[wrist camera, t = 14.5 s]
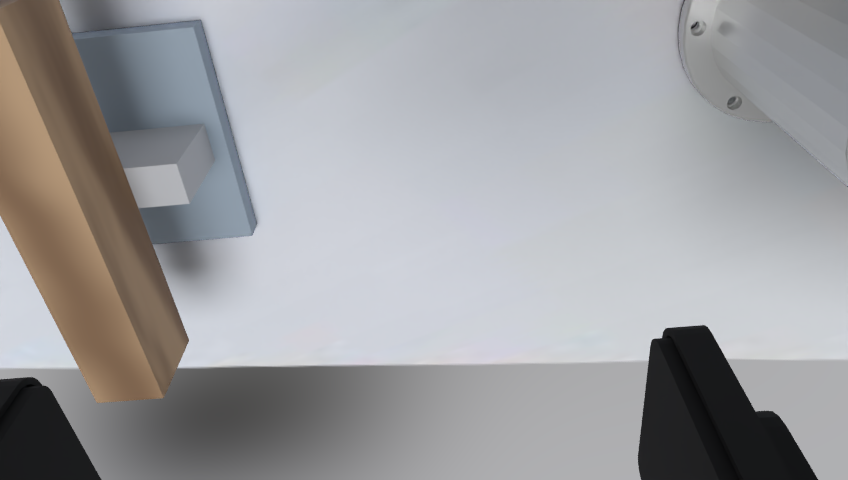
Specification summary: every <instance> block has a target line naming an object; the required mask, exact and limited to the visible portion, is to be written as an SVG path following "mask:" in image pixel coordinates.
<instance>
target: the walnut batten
mask: <svg viewBox="0 0 848 480" xmlns="http://www.w3.org/2000/svg"><path fill="white" fill-rule="evenodd" d="M0 216H1V218H2V220H3V222H4V224H5V226H6V227H7V229H8V231H9V233H10V235H11V237H12V239H13V241H14V243H15V245H16V247H17V249H18V251H19V253H20V255H21V257H22V258H23V260H24V262H25V264H26V266H27V268H28V270H29V272H30V274H31V276H32V278H33V280H34V282H35V284H36V286H37V288H38V289H39V291H40V293H41V295H42V297H43V299H44V301H45V303H46V305H47V307H48V309H49V311H50V313H51V315H52V317H53V319H54V320H55V322H56V324H57V326H58V328H59V330H60V332H61V334H62V336H63V338H64V340H65V342H66V344H67V346H68V348H69V350H70V352H71V353H72V355H73V357H74V359H75V361H76V363H77V365H78V367H79V369H80V371H81V372H82V375H83V377H84V379H85V381H86V383H87V384H88V386H89V388H90V390H91V392H92V394H93V396H94V398H95V400H96V402H97V403H103V402H116V401H129V400H143V399H156V398H164V396H165V394H166V392H167V389H168V387H169V385H170V383H171V380H172V378H173V376H174V373H175V371H176V369H177V367H178V364H179V362H180V360H181V358H182V355H183V353H184V351H185V348H186V346H187V344H188V342H189V339H188V336H187V334H186V331H185V329H184V326H183V323H182V321H181V318H180V316H179V313H178V310H177V308H176V305H175V302H174V300H173V297H172V295H171V292H170V289H169V287H168V284H167V282H166V279H165V276H164V274H163V271H162V268H161V266H160V263H159V261H158V258H157V255H156V253H155V250H154V248H153V245H152V242H151V240H150V237H149V235H148V232H147V229H146V227H145V224H144V221H143V219H142V216H141V214H140V211H139V208H138V206H137V203H136V201H135V198H134V195H133V193H132V190H131V187H130V185H129V182H128V180H127V177H126V174H125V172H124V169H123V167H122V164H121V161H120V159H119V156H118V154H117V151H116V148H115V146H114V143H113V140H112V138H111V135H110V133H109V130H108V127H107V125H106V122H105V120H104V117H103V114H102V112H101V109H100V106H99V104H98V101H97V99H96V96H95V93H94V91H93V88H92V86H91V83H90V80H89V78H88V75H87V73H86V70H85V67H84V65H83V62H82V59H81V57H80V54H79V52H78V49H77V46H76V44H75V41H74V39H73V36H72V33H71V31H70V28H69V25H68V23H67V20H66V18H65V15H64V12H63V10H62V7H61V5H60V2H59V0H0Z"/></svg>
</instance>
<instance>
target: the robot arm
mask: <svg viewBox="0 0 848 480" xmlns="http://www.w3.org/2000/svg"><path fill="white" fill-rule="evenodd" d="M696 21H697V25H696V26H695V27H694V28H691V26H692V24H693V23H694V22H696ZM678 32H679V52H680V55H681V59H682V63H683V67H684V70H685V72H686V74H687V76H688V78H689V79H690V81H691V83H692V85H693V86H694V87H695V88H696V89H697V91H698V92H699V93H700V94H701V95H702V96H703V97H704V98H705V99H706V100H707V101H708V102H709V103H710V104H712V105H713V106H714V107H715V108H717V109H719V110H720V111H722V112H724V113H725V114H728V115H730V116H733V117H737V118H740V119H744V120H747V121H759V122H772V121H773V122H774V123H776V124H777V125H778V126H779V127H780V128H781V129H782V130H783V131H785V132H786V133H787V134H788V135H789V136H790V137H791V138H793V139H794V140H795V141H796V142H797V143H798V144H799V145H800V146H802V147H803V148H804V149H805V150H806V151H807V152H808V153H810V154H811V155H812V156H813V157H814V158H815V159H816V160H818V161H819V162H820V163H821V164H822V165H823V166H824V167H825V168H827V169H828V170H829V171H830V172H831V173H832V174H833V175H835V176H836V177H837V178H838V179H839V180H840V181H841V182H842V183H844V184H845V185H846V186H847V187H848V0H685V1H684V4H683V7H682V11H681V17H680V24H679V30H678ZM731 97H732V99H731V100H730V101H728V100H729V99H730V98H731ZM638 465H639V472H640V477H641V480H818V479H817V477H816V475H815V474H814V472H813V470H812V469H811V467H810V465H809V464H808V462H807V460H806V459H805V457H804V455H803V454H802V452H801V450H800V449H799V447H798V445H797V443H796V442H795V440H794V438H793V437H792V435H791V433H790V432H789V430H788V428H787V427H786V425H785V424H784V423H783V421H782V420H781V418H780V417H779V416H778V415H777V414H775V413H774V412H772V411H758V412H755V410H754V408H753V407H752V405H751V403H750V401H749V399H748V398H747V396H746V394H745V392H744V390H743V389H742V387H741V385H740V383H739V381H738V380H737V378H736V376H735V374H734V373H733V371H732V369H731V367H730V365H729V363H728V362H727V360H726V358H725V356H724V354H723V353H722V351H721V349H720V347H719V345H718V344H717V342H716V340H715V338H714V336H713V335H712V333H711V331H710V330H709V329H708V327H706V326H705V325H702V326H689V327H676V328H666V329H665V330H664V332H663V336H662V338H660V339H653V340H652V342H651V346H650V355H649V365H648V373H647V382H646V391H645V400H644V408H643V417H642V427H641V435H640V444H639V453H638ZM0 480H101V479H100V477H99V475H98V473H97V471H96V470H95V468H94V466H93V465H92V463H91V461H90V459H89V457H88V455H87V454H86V452H85V450H84V448H83V446H82V445H81V443H80V441H79V439H78V438H77V436H76V434H75V432H74V430H73V429H72V427H71V425H70V423H69V421H68V420H67V418H66V416H65V414H64V413H63V411H62V409H61V407H60V406H59V404H58V402H57V400H56V398H55V397H54V395H53V393H52V391H51V390H50V389H49V388H48V387H46V386H42V384H41V383H40V382H39V381H38V380H37V379H35V378H33V377H32V378H31V377H27V378H14V379H1V380H0Z"/></svg>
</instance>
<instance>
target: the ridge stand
mask: <svg viewBox="0 0 848 480" xmlns="http://www.w3.org/2000/svg"><path fill="white" fill-rule="evenodd" d="M72 36H73V39H74V41H75V44H76V46H77V49H78V52H79V54H80V57H81V59H82V62H83V65H84V67H85V70H86V73H87V75H88V78H89V80H90V83H91V86H92V88H93V91H94V93H95V96H96V99H97V101H98V104H99V106H100V109H101V112H102V114H103V117H104V120H105V122H106V125H107V127H108V130H109V133H110V135H111V138H112V140H113V143H114V146H115V148H116V151H117V154H118V156H119V159H120V161H121V164H122V167H123V169H124V172H125V174H126V177H127V180H128V182H129V185H130V187H131V190H132V193H133V195H134V198H135V201H136V203H137V206H138V208H139V211H140V214H141V216H142V219H143V221H144V224H145V227H146V229H147V232H148V235H149V237H150V240H151V242H152V244H162V243H173V242H185V241H197V240H208V239H220V238H231V237H243V236H252V235H253V233H254V230H255V228H256V225H257V223H256V219H255V215H254V212H253V208H252V204H251V201H250V197H249V194H248V190H247V186H246V183H245V179H244V175H243V172H242V168H241V165H240V161H239V157H238V154H237V150H236V146H235V143H234V139H233V135H232V132H231V128H230V125H229V121H228V117H227V114H226V110H225V106H224V103H223V99H222V96H221V92H220V88H219V85H218V81H217V77H216V74H215V70H214V66H213V63H212V59H211V56H210V52H209V48H208V45H207V41H206V37H205V34H204V30H203V27H202V23H201V20H197V21H188V22H178V23H168V24H159V25H149V26H140V27H130V28H120V29H111V30H101V31H91V32H82V33H72Z"/></svg>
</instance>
